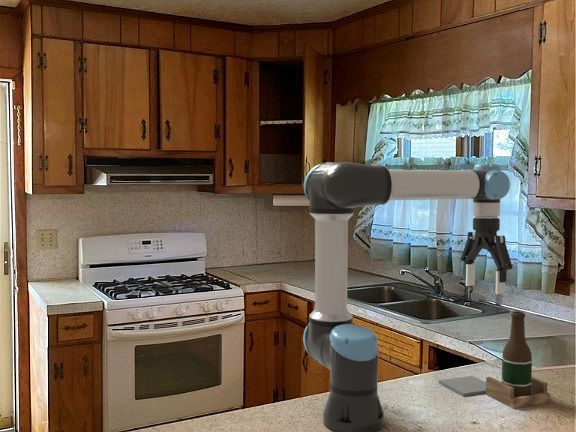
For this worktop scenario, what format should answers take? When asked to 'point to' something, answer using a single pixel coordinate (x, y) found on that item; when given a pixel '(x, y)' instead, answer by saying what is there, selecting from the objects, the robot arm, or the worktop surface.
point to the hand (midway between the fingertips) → (484, 289)
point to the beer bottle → (517, 358)
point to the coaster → (465, 385)
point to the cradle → (506, 397)
